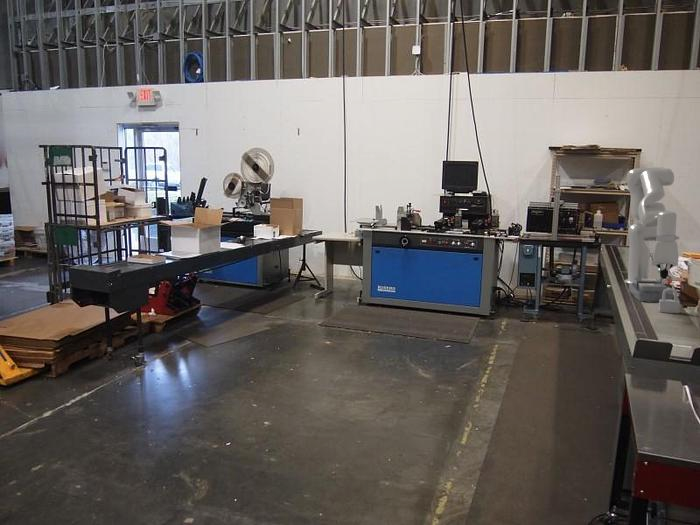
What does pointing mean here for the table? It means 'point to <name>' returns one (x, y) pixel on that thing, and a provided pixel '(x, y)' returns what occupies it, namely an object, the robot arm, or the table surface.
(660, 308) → the padlock
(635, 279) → the chassis
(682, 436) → the table surface
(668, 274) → the cable arm
